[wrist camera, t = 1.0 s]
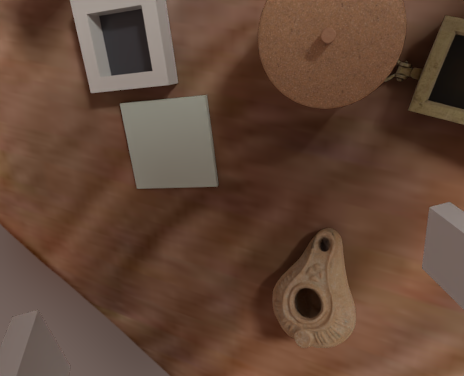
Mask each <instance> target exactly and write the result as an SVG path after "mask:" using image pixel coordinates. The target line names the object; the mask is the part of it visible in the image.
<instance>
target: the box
mask: <svg viewBox="0 0 464 376" xmlns="http://www.w3.org/2000/svg"><path fill="white" fill-rule="evenodd" d="M397 64H398V65H399V66H398V69H397V71H396V73H395V74H392V75H391V76H389V77H388V78H386V80H385V81H384V82H387V81H389V80H390V79H392V78H394V77H396V80H397V81H399V82H401V81H403V80H404V79H407V77H408V76H409V77H412V78H413V79H417V80H419V81H418V84H417V86H416V89H415V92H414V94H413V97H412V100H411V103H410V105H409V108H408V111H412V112H416V113H420V114H424V115H427V116H431V117H435V118H439V119H443V120H447V121H451V122H454V123H458V124H462V125H464V19H462V18H457V17H452V16H447V15H445V17H444V19H443V22H442V24H441V27H440V29H439V32H438V34H437V36H436V39H435V41H434V44H433V46H432V48H431V51H430V53H429V56H428V58H427V61H426V63H425V66H424V68H423V69H420V68H414V69H413V68H411V67H412V65H411V64H408V61H405V62H404V63H403V62H401V61H400V60H399V59H398V62H397Z"/></svg>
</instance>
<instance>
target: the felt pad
mask: <svg viewBox="0 0 464 376" xmlns="http://www.w3.org/2000/svg"><path fill="white" fill-rule="evenodd" d="M120 108H121V113H122V118H123V123H124V127H125V132H126V137H127V142H128V147H129V152H130V157H131V162H132V167H133V172H134V177H135V182H136V186H137V189H148V188H186V187H217V186H218V185H219V184H218V176H217V169H216V161H215V153H214V145H213V137H212V130H211V122H210V114H209V106H208V99H207V95H201V96H191V97H180V98H169V99H159V100H148V101H138V102H127V103H120Z"/></svg>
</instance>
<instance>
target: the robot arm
mask: <svg viewBox="0 0 464 376" xmlns="http://www.w3.org/2000/svg"><path fill="white" fill-rule="evenodd" d="M422 269H423V270H424V271H425V272H426V273H427V274H428V275H429V276H430V277H431V278H432V279H434V280H435V281H436V282H437V283H438V284H439V285H440V286H441V287H442V288H443V289H444V290H445V291H446V292H447V293H448V294H449V295H450V296H451V297H452V298H453V299H454V300H455V301H456V302H457V303H458V304H459V305H460V306H461V307H462V308H463V309H464V211H462V210H461V209H459V208H458V207H456V206H455V205H453V204H452V203H450V202H448V203H444V204H440V205H436V206H432V207H429V215H428V223H427V231H426V239H425V248H424V256H423V264H422ZM70 368H71V366H70V364H69V362H68V361H67V359H66V357H65V355H64V354H63V352H62V350H61V348H60V347H59V345H58V343H57V341H56V340H55V338H54V336H53V334H52V333H51V331H50V329H49V328H48V326H47V324H46V323H45V321H44V319H43V317H42V315H41V314H40V312H39V310H35V311H32V312H28V313H24V314H20V315H16V316H13V317H12V319H11V321H10V324H9V326H8V329H7V331H6V334H5V336H4V339H3V341H2V344H1V346H0V376H69V374H70Z"/></svg>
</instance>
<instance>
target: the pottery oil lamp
mask: <svg viewBox="0 0 464 376" xmlns="http://www.w3.org/2000/svg"><path fill="white" fill-rule="evenodd" d="M272 303H273V310H274V314H275V316H276V318H277V320H278V322H279V324H280V326H281V327H282V329H283V330H284V331H285V332H286V333H287V334H288V335H289V336H290V337H291V338H293V339H295V341H296V343H297V344H298V345H299V346H300V347H302V348H308V347H309V346H310V347H316V348H328V347H334V346H337V345H338V344H340V343H342V342H344V341H345V340H346V339H347V338H348V337H349V336H350V335H351V334H352V332H353V330H354V327H355V322H356V309H355V304H354V300H353V297H352V295H351V292H350V288H349V285H348V281H347V275H346V270H345V262H344V254H343V244H342V239H341V236H340V235H339V234H338V232H337V231H335V230H334V229H332V228H325V229H322V230H320V231H319V232H318V233H317V234H316V235H315V236H314V237H313V238H312V240H311V241H310V243H309V244H308V246H307V248H306V249H305V251H304V252H303V254H302V255H301V257H300V258H299V259H298V260H297V261H296V262H295V263H294V264H293V265H292V266H291V267H290V268H289V269H288V270H287V271H286V272H285V273H284V274H283V275H282V276H281V277H280V279H279V280H278V281H277V283H276V285H275V287H274V289H273V297H272Z"/></svg>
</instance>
